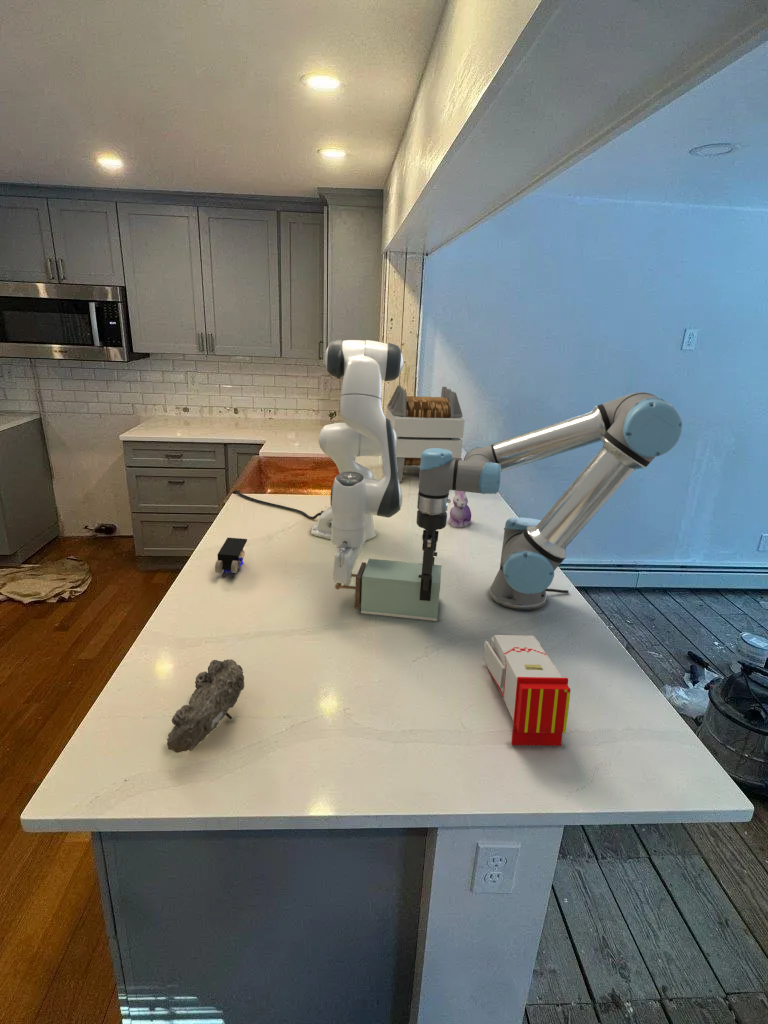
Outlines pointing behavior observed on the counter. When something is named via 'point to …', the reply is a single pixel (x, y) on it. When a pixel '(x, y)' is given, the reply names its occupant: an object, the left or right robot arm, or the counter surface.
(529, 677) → the toy
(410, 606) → the cabinet
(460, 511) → the figurine
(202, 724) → the fossil
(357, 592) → the drawer
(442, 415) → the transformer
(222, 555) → the figurine character
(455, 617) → the counter surface
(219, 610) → the counter surface
